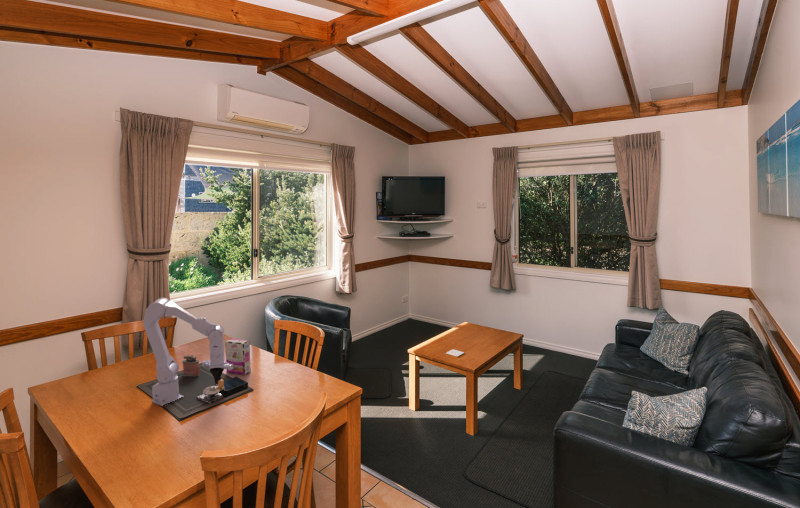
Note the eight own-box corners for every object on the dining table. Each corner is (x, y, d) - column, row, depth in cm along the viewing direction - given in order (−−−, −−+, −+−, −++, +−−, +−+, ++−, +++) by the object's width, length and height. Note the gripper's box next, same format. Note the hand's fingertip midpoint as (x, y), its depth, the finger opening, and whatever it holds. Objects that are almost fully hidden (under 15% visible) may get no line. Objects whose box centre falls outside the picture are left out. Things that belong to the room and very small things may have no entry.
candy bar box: (251, 371, 203) (250, 340, 201) (244, 375, 199) (243, 343, 197) (232, 368, 207) (231, 337, 205) (226, 372, 202) (224, 341, 200)
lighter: (201, 374, 199) (200, 355, 198) (197, 377, 196) (196, 357, 195) (185, 373, 200) (184, 354, 199) (181, 376, 197) (180, 356, 196)
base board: (210, 403, 170) (209, 393, 170) (197, 399, 174) (196, 389, 174) (227, 395, 178) (226, 385, 178) (214, 391, 182) (213, 381, 181)
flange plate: (206, 396, 171) (205, 388, 171) (201, 391, 176) (200, 382, 176) (226, 391, 177) (225, 382, 176) (220, 385, 182) (220, 377, 181)
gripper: (196, 354, 175) (197, 384, 177) (224, 359, 171) (225, 389, 173) (208, 349, 182) (209, 377, 184) (235, 353, 178) (236, 382, 180)
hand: (218, 383), depth 179 cm, fingers closed, pressing on flange plate
